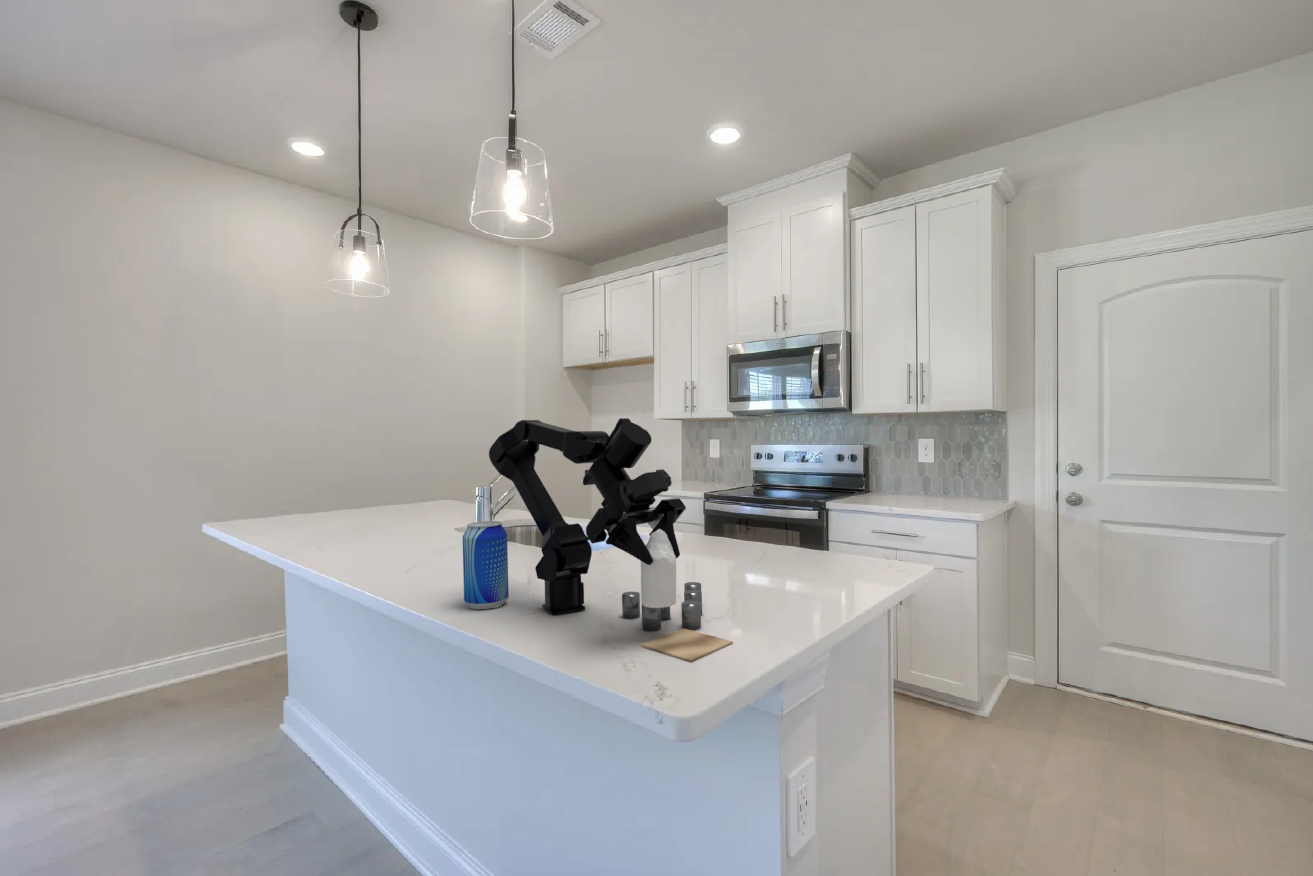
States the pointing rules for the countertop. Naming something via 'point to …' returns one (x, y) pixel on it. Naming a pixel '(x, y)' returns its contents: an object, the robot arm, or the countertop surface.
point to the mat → (687, 644)
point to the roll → (659, 573)
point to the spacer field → (665, 609)
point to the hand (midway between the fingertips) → (664, 559)
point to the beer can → (485, 565)
